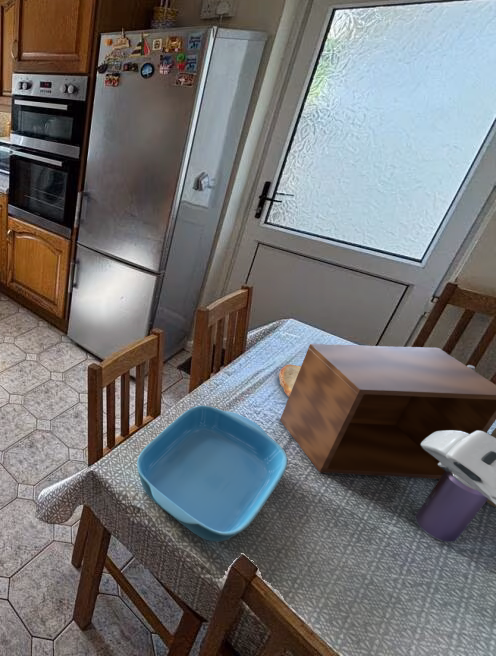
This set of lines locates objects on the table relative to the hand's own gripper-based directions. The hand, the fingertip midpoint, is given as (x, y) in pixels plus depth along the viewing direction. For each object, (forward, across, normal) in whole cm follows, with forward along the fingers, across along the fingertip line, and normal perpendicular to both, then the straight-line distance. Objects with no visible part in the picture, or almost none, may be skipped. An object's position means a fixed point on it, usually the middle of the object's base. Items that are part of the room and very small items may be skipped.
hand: (476, 489), depth 70 cm
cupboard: (+29, +9, -1) cm, 31 cm away
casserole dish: (+8, +25, +33) cm, 42 cm away
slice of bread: (+42, +24, -7) cm, 48 cm away
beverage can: (+17, -5, +6) cm, 19 cm away
